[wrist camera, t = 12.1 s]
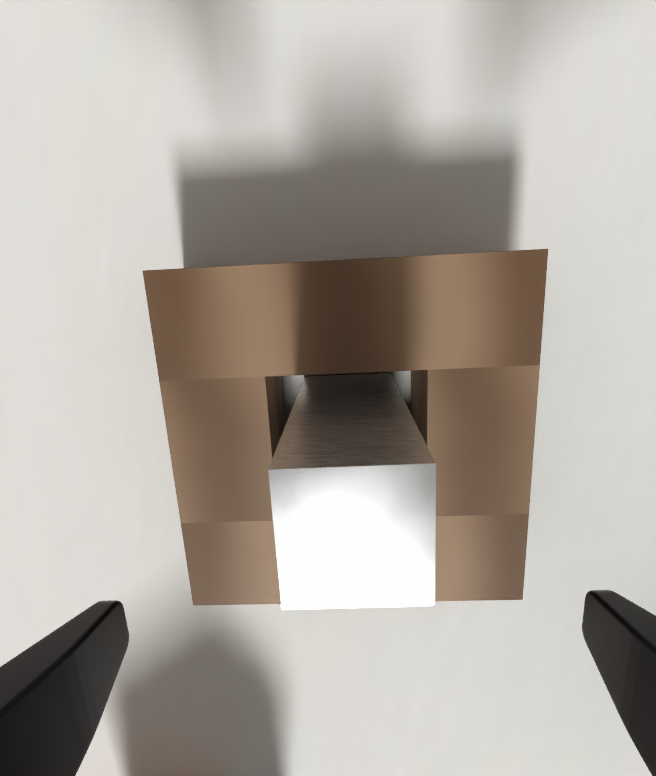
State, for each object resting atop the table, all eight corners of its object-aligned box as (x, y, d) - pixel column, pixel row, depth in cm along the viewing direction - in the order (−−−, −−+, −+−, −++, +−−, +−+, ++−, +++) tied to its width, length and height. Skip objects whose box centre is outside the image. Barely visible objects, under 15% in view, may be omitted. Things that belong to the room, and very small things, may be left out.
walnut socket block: (504, 255, 18) (548, 248, 14) (490, 542, 22) (522, 599, 18) (183, 272, 19) (142, 270, 15) (219, 548, 22) (193, 605, 18)
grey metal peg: (390, 373, 20) (435, 462, 10) (392, 453, 21) (435, 606, 11) (304, 377, 20) (267, 469, 10) (310, 456, 21) (281, 609, 11)
